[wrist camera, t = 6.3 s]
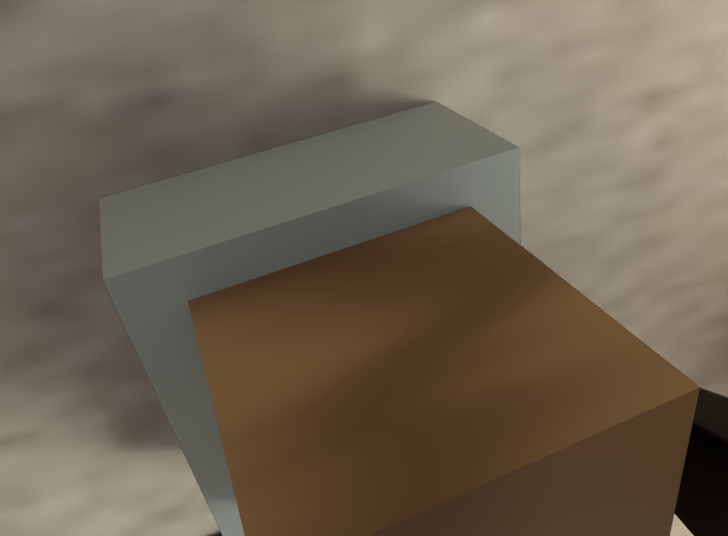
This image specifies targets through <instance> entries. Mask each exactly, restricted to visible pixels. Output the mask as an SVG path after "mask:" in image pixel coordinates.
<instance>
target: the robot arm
mask: <svg viewBox="0 0 728 536" xmlns="http://www.w3.org/2000/svg"><path fill="white" fill-rule="evenodd" d="M674 513H675V515H676V516H677V517H678V518H679V519H680V520H681V521H682V523H683V524H684V525H685V526H686V527H687V528H688V529H689V531H690V532H691V533H692V534H693V535H694V536H728V397H725V396H722V395H719V394H717V393H714V392H711V391H708V390H706V389H703V388H700V389H699V394H698V399H697V404H696V409H695V414H694V419H693V424H692V428H691V433H690V438H689V443H688V448H687V453H686V458H685V463H684V467H683V472H682V477H681V482H680V487H679V492H678V497H677V502H676V507H675V511H674Z"/></svg>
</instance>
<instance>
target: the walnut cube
mask: <svg viewBox="0 0 728 536" xmlns="http://www.w3.org/2000/svg"><path fill="white" fill-rule="evenodd" d="M188 305H189V309H190V313H191V317H192V321H193V325H194V329H195V334H196V338H197V342H198V346H199V350H200V354H201V358H202V362H203V366H204V371H205V375H206V379H207V383H208V387H209V391H210V395H211V399H212V403H213V408H214V412H215V416H216V420H217V424H218V428H219V432H220V436H221V440H222V445H223V449H224V453H225V457H226V461H227V465H228V469H229V473H230V477H231V482H232V486H233V490H234V494H235V498H236V502H237V506H238V510H239V514H240V519H241V523H242V527H243V531H244V535H245V536H670V531H671V526H672V521H673V516H674V511H675V507H676V502H677V497H678V492H679V487H680V482H681V477H682V472H683V467H684V463H685V458H686V453H687V448H688V443H689V438H690V433H691V428H692V424H693V419H694V414H695V409H696V404H697V399H698V394H699V389H700V387H699V386H698V385H696V384H695V383H694V382H693V381H691V380H690V379H689V378H688V377H686V376H685V375H684V374H683V373H681V372H680V371H679V370H678V369H676V368H675V367H674V366H672V365H671V364H670V363H669V362H667V361H666V360H665V359H664V358H662V357H661V356H660V355H659V354H657V353H656V352H655V351H653V350H652V349H651V348H650V347H648V346H647V345H646V344H645V343H643V342H642V341H641V340H640V339H638V338H637V337H636V336H635V335H633V334H632V333H631V332H629V331H628V330H627V329H626V328H624V327H623V326H622V325H621V324H619V323H618V322H617V321H616V320H614V319H613V318H612V317H610V316H609V315H608V314H607V313H605V312H604V311H603V310H602V309H600V308H599V307H598V306H597V305H595V304H594V303H593V302H592V301H590V300H589V299H588V298H586V297H585V296H584V295H583V294H581V293H580V292H579V291H578V290H576V289H575V288H574V287H573V286H571V285H570V284H569V283H567V282H566V281H565V280H564V279H562V278H561V277H560V276H559V275H557V274H556V273H555V272H554V271H552V270H551V269H550V268H549V267H547V266H546V265H545V264H543V263H542V262H541V261H540V260H538V259H537V258H536V257H535V256H533V255H532V254H531V253H530V252H528V251H527V250H526V249H524V248H523V247H522V246H521V245H519V244H518V243H517V242H516V241H514V240H513V239H512V238H511V237H509V236H508V235H507V234H505V233H504V232H503V231H502V230H500V229H499V228H498V227H497V226H495V225H494V224H493V223H492V222H490V221H489V220H488V219H487V218H485V217H484V216H483V215H481V214H480V213H479V212H478V211H476V210H475V209H474V208H473V207H468V208H465V209H462V210H459V211H456V212H453V213H450V214H447V215H444V216H441V217H438V218H435V219H432V220H429V221H426V222H423V223H420V224H417V225H414V226H411V227H408V228H405V229H402V230H399V231H396V232H393V233H390V234H387V235H384V236H381V237H378V238H375V239H372V240H369V241H366V242H363V243H360V244H357V245H354V246H351V247H348V248H345V249H342V250H339V251H336V252H333V253H330V254H327V255H324V256H321V257H318V258H315V259H312V260H309V261H306V262H303V263H300V264H297V265H294V266H291V267H288V268H285V269H282V270H279V271H276V272H273V273H270V274H267V275H264V276H261V277H258V278H255V279H252V280H249V281H246V282H243V283H240V284H237V285H234V286H231V287H228V288H225V289H222V290H219V291H216V292H213V293H210V294H207V295H204V296H201V297H198V298H195V299H192V300H189V301H188Z"/></svg>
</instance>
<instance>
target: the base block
mask: <svg viewBox="0 0 728 536" xmlns="http://www.w3.org/2000/svg"><path fill="white" fill-rule="evenodd" d="M468 207H473V208H474V209H475V210H476V211H478V212H479V213H480V214H481V215H483V216H484V217H485V218H487V219H488V220H489V221H490V222H492V223H493V224H494V225H495V226H497V227H498V228H499V229H500V230H502V231H503V232H504V233H505V234H507V235H508V236H509V237H511V238H512V239H513V240H514V241H516V242H517V243H518V244H519V245H521V240H520V167H519V147H517V146H515V145H514V144H512V143H510V142H508V141H506V140H505V139H503V138H501V137H499V136H497V135H496V134H494V133H492V132H490V131H488V130H487V129H485V128H483V127H481V126H479V125H477V124H476V123H474V122H472V121H470V120H468V119H467V118H465V117H463V116H461V115H459V114H458V113H456V112H454V111H452V110H450V109H449V108H447V107H445V106H443V105H441V104H439V103H438V102H436V101H435V102H432V103H428V104H425V105H421V106H418V107H415V108H411V109H408V110H404V111H401V112H397V113H394V114H390V115H387V116H383V117H380V118H376V119H373V120H369V121H366V122H362V123H359V124H355V125H352V126H348V127H345V128H341V129H338V130H335V131H331V132H328V133H324V134H321V135H317V136H314V137H310V138H307V139H303V140H300V141H296V142H293V143H289V144H286V145H282V146H279V147H275V148H272V149H268V150H265V151H261V152H258V153H255V154H251V155H248V156H244V157H241V158H237V159H234V160H230V161H227V162H223V163H220V164H216V165H213V166H209V167H206V168H202V169H199V170H195V171H192V172H188V173H185V174H181V175H178V176H175V177H171V178H168V179H164V180H161V181H157V182H154V183H150V184H147V185H143V186H140V187H136V188H133V189H129V190H126V191H122V192H119V193H115V194H112V195H108V196H105V197H101V198H99V209H100V232H101V255H102V278H103V282H104V284H105V286H106V288H107V290H108V293H109V295H110V297H111V299H112V301H113V303H114V305H115V308H116V310H117V312H118V314H119V316H120V318H121V320H122V323H123V325H124V327H125V329H126V331H127V333H128V335H129V337H130V340H131V342H132V344H133V346H134V348H135V350H136V352H137V355H138V357H139V359H140V361H141V363H142V365H143V367H144V369H145V372H146V374H147V376H148V378H149V380H150V382H151V384H152V387H153V389H154V391H155V393H156V395H157V397H158V399H159V401H160V404H161V406H162V408H163V410H164V412H165V414H166V416H167V419H168V421H169V423H170V425H171V427H172V429H173V431H174V433H175V436H176V438H177V440H178V442H179V444H180V446H181V448H182V451H183V453H184V455H185V457H186V459H187V461H188V463H189V465H190V468H191V470H192V472H193V474H194V476H195V478H196V480H197V483H198V485H199V487H200V489H201V491H202V493H203V495H204V497H205V500H206V502H207V504H208V506H209V508H210V510H211V512H212V515H213V517H214V519H215V521H216V523H217V525H218V527H219V529H220V532H221V534H222V536H245V535H244V531H243V527H242V523H241V519H240V514H239V510H238V506H237V502H236V498H235V494H234V490H233V486H232V482H231V477H230V473H229V469H228V465H227V461H226V457H225V453H224V449H223V445H222V440H221V436H220V432H219V428H218V424H217V420H216V416H215V412H214V408H213V403H212V399H211V395H210V391H209V387H208V383H207V379H206V375H205V371H204V366H203V362H202V358H201V354H200V350H199V346H198V342H197V338H196V334H195V329H194V325H193V321H192V317H191V313H190V309H189V305H188V301H189V300H192V299H195V298H198V297H201V296H204V295H207V294H210V293H213V292H216V291H219V290H222V289H225V288H228V287H231V286H234V285H237V284H240V283H243V282H246V281H249V280H252V279H255V278H258V277H261V276H264V275H267V274H270V273H273V272H276V271H279V270H282V269H285V268H288V267H291V266H294V265H297V264H300V263H303V262H306V261H309V260H312V259H315V258H318V257H321V256H324V255H327V254H330V253H333V252H336V251H339V250H342V249H345V248H348V247H351V246H354V245H357V244H360V243H363V242H366V241H369V240H372V239H375V238H378V237H381V236H384V235H387V234H390V233H393V232H396V231H399V230H402V229H405V228H408V227H411V226H414V225H417V224H420V223H423V222H426V221H429V220H432V219H435V218H438V217H441V216H444V215H447V214H450V213H453V212H456V211H459V210H462V209H465V208H468Z"/></svg>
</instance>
